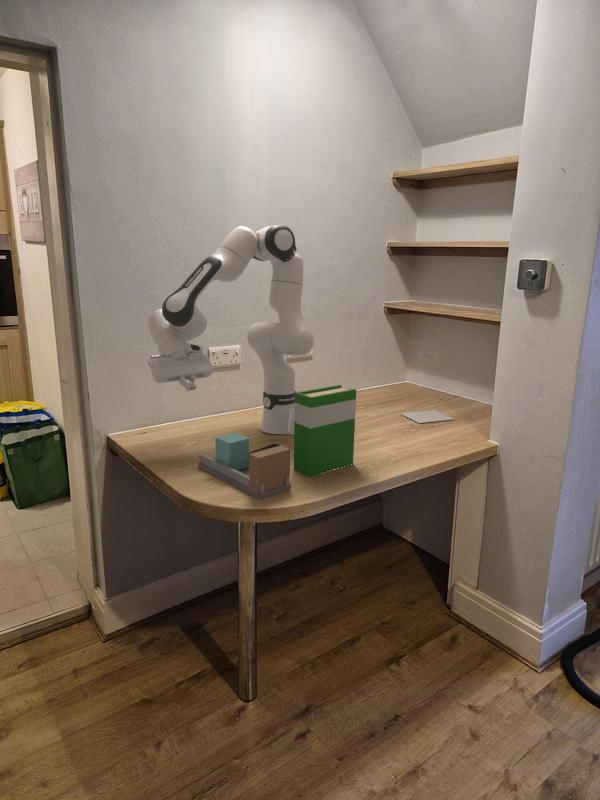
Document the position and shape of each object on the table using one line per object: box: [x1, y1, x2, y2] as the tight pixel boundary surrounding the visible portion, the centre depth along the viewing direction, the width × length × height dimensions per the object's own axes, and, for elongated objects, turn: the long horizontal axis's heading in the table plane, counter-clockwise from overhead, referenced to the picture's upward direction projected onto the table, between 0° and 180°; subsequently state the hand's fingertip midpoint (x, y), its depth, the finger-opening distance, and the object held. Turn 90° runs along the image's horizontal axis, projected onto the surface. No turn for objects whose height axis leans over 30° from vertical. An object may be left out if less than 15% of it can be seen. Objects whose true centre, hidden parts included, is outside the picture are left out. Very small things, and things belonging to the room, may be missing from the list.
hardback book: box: [293, 384, 357, 478], centre depth 172 cm, size 18×7×24 cm, turn 129°
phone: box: [249, 443, 291, 454], centre depth 186 cm, size 8×1×15 cm
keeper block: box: [214, 432, 250, 471], centre depth 168 cm, size 7×7×9 cm
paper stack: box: [400, 409, 454, 424], centre depth 225 cm, size 23×25×1 cm
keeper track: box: [197, 445, 292, 500], centre depth 165 cm, size 11×30×12 cm, turn 42°
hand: (191, 389), depth 179 cm, fingers closed
